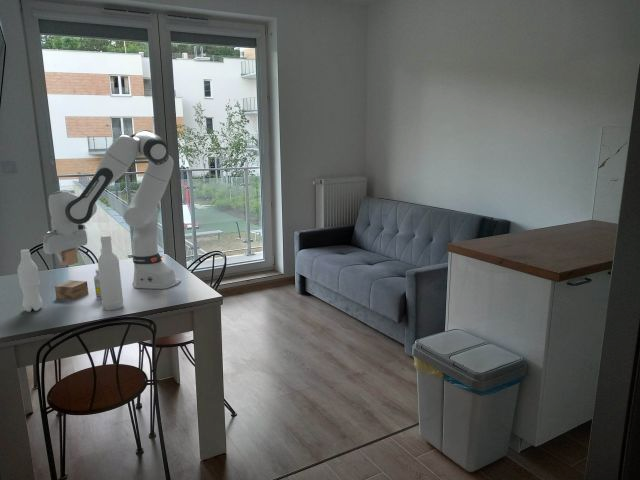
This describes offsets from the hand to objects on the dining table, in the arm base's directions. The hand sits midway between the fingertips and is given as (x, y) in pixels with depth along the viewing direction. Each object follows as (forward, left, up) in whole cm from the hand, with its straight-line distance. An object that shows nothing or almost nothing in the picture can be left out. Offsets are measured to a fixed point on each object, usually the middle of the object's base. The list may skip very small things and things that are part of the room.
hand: (68, 259), depth 208 cm
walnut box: (0, 0, -17) cm, 17 cm away
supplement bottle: (-15, -3, -17) cm, 23 cm away
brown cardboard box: (0, 0, -2) cm, 2 cm away
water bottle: (+1, +19, -17) cm, 25 cm away
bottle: (-28, +6, -17) cm, 34 cm away
